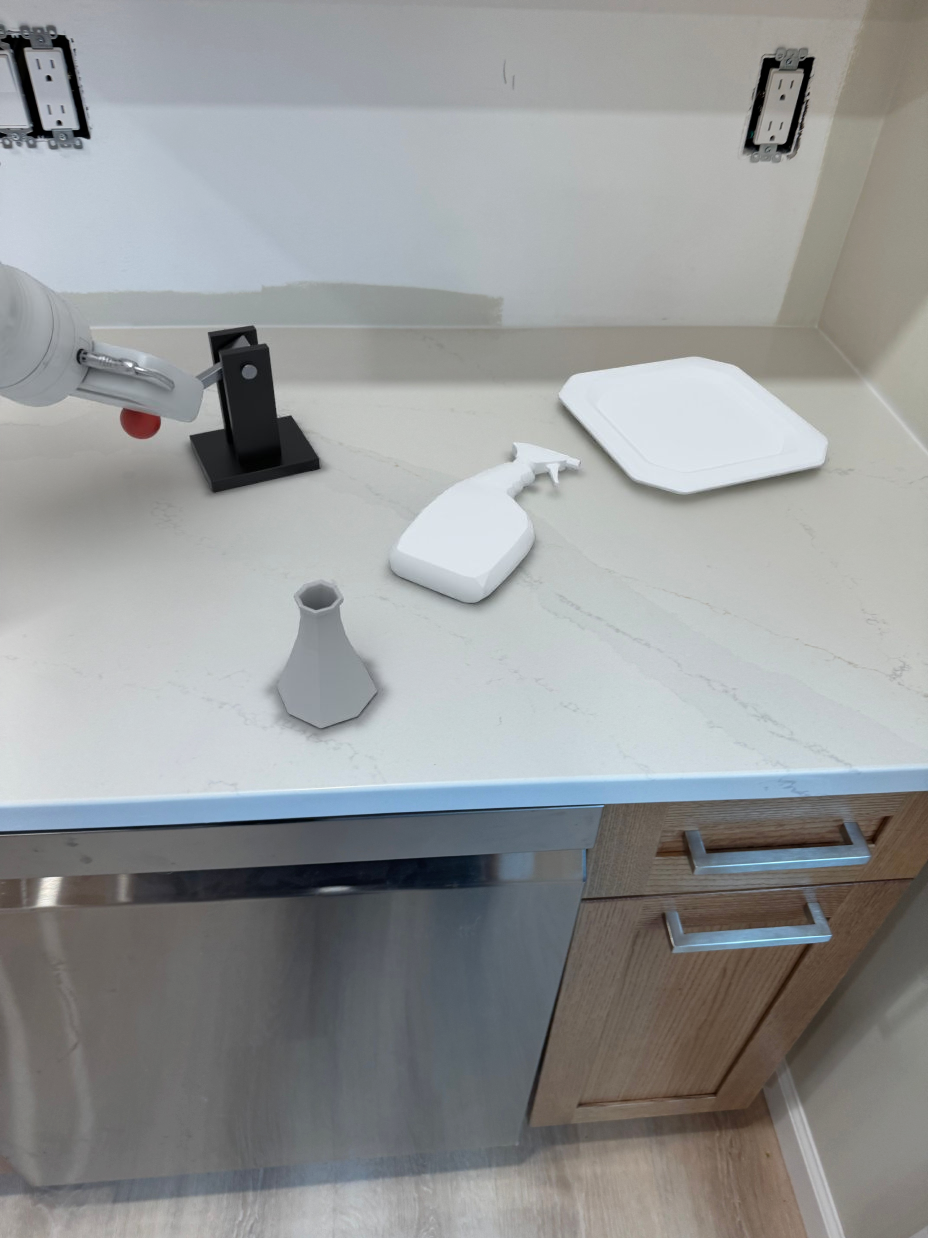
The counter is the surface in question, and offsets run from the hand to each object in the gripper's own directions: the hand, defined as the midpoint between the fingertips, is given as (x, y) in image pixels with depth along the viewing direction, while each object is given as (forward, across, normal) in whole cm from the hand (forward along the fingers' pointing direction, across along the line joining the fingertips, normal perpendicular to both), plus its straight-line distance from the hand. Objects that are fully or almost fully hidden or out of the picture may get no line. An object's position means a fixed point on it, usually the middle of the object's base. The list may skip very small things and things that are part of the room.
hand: (131, 398), depth 75 cm
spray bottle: (+10, -34, +2) cm, 35 cm away
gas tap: (+11, -8, +1) cm, 14 cm away
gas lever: (+4, -4, -2) cm, 6 cm away
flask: (-7, -28, +20) cm, 35 cm away
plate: (+27, -50, -15) cm, 59 cm away
